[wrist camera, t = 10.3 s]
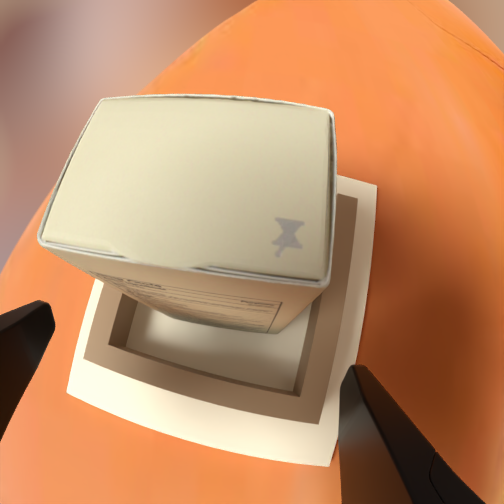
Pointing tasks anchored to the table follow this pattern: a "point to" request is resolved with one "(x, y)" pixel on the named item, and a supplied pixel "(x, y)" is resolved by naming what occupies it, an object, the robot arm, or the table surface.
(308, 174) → the skincare box
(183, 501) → the table surface
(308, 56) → the table surface
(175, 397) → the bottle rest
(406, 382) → the table surface
